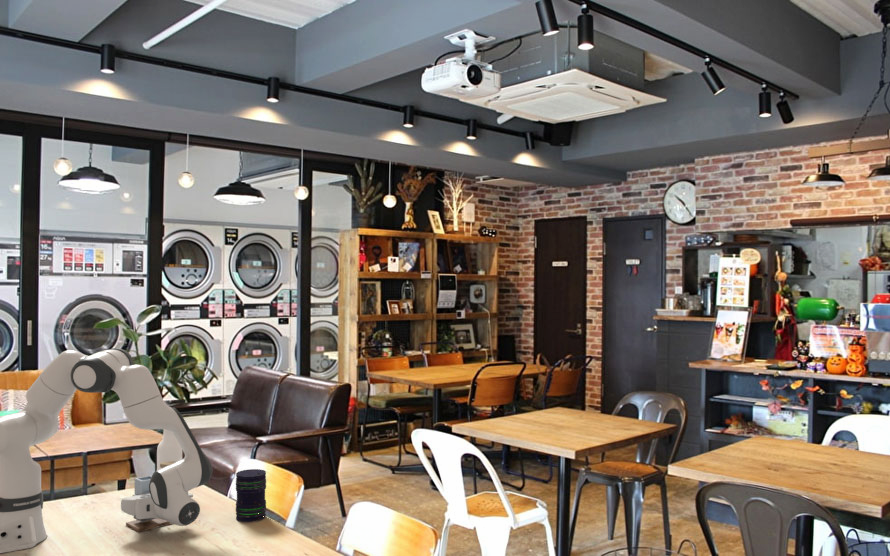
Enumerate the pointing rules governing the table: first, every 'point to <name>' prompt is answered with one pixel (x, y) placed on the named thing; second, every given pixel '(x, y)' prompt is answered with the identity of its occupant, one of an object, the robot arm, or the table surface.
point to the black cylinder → (250, 495)
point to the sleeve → (142, 490)
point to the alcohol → (168, 449)
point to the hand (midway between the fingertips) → (144, 494)
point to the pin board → (146, 524)
